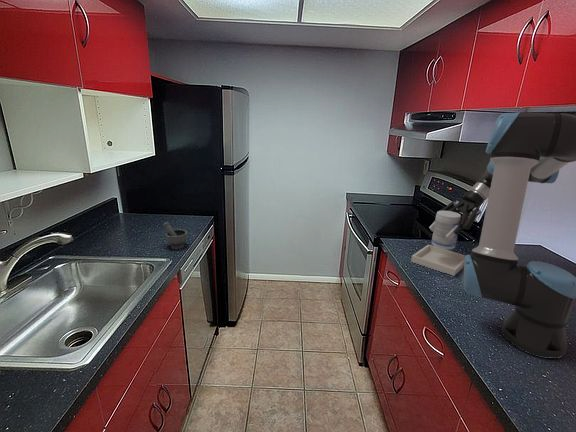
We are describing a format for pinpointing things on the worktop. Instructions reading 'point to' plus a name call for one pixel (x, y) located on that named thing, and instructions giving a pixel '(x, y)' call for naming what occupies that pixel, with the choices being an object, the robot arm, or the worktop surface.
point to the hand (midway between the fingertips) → (439, 233)
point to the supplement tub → (445, 229)
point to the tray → (439, 259)
